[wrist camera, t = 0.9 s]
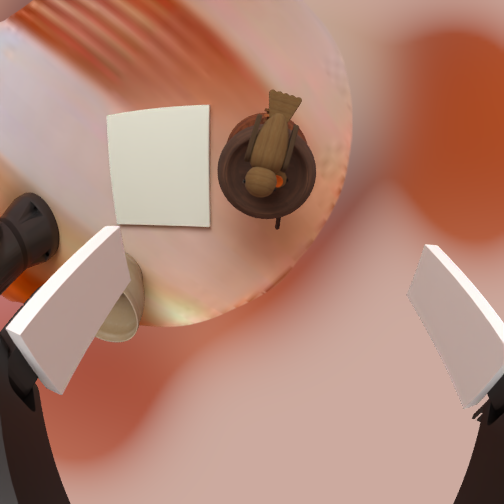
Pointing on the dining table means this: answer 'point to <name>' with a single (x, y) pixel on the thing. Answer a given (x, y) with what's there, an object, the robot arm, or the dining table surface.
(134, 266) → the planter bowl
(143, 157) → the board
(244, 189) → the music box
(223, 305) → the dining table surface
